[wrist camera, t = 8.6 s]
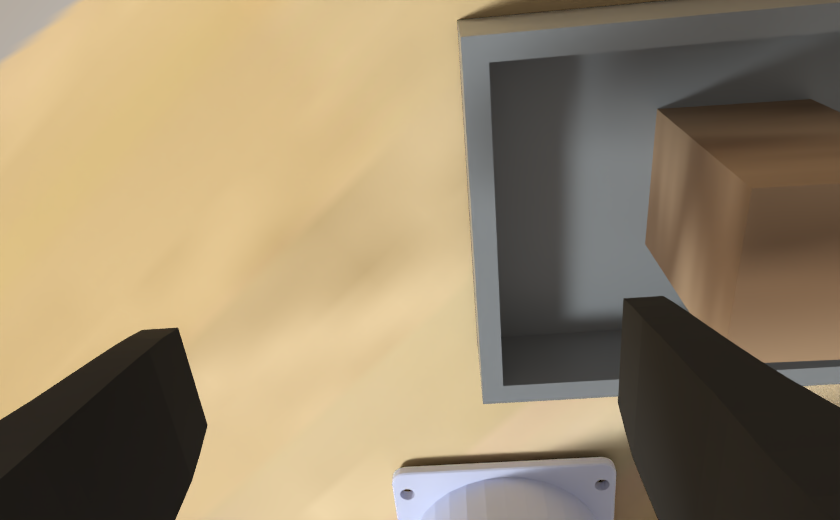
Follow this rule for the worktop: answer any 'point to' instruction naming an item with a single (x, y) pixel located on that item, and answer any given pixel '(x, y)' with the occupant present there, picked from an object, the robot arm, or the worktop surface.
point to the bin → (603, 166)
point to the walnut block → (752, 222)
